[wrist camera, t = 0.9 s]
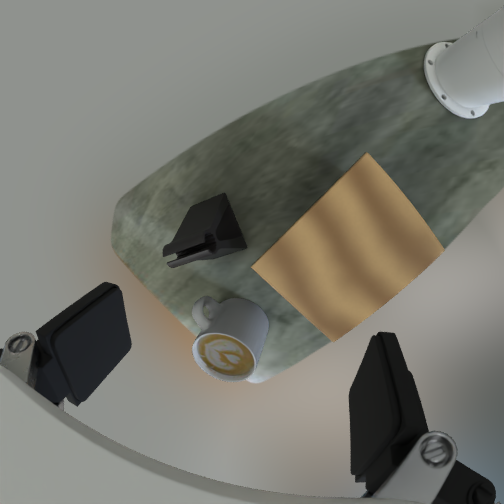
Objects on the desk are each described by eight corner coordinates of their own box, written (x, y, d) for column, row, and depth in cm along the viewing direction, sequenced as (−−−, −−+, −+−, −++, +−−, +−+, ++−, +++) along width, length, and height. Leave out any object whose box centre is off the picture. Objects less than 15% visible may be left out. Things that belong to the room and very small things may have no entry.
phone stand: (191, 206, 41) (149, 225, 30) (225, 192, 39) (190, 207, 28) (213, 258, 44) (180, 293, 33) (247, 247, 42) (222, 282, 31)
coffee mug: (278, 337, 46) (267, 376, 37) (230, 348, 49) (213, 385, 40) (243, 272, 43) (223, 304, 34) (194, 290, 47) (167, 321, 37)
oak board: (365, 152, 28) (367, 151, 27) (442, 247, 29) (445, 250, 28) (252, 264, 36) (250, 267, 35) (333, 338, 37) (333, 342, 36)
